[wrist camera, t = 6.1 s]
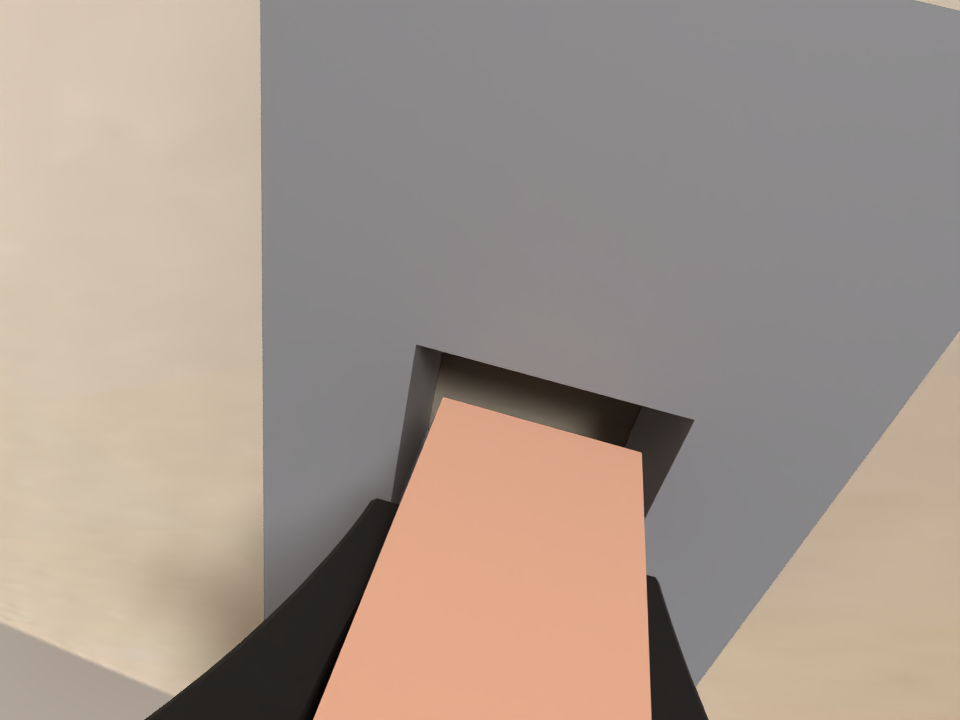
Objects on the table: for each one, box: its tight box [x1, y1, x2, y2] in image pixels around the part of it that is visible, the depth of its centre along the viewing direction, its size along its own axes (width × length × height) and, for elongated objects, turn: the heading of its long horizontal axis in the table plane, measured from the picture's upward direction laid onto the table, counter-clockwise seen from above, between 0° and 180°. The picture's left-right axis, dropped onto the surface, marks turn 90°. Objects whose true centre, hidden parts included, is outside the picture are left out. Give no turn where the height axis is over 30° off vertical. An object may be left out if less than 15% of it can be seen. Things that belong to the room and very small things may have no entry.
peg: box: [313, 397, 652, 720], centre depth 11 cm, size 4×4×7 cm
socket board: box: [260, 0, 960, 687], centre depth 16 cm, size 20×12×4 cm, turn 169°
